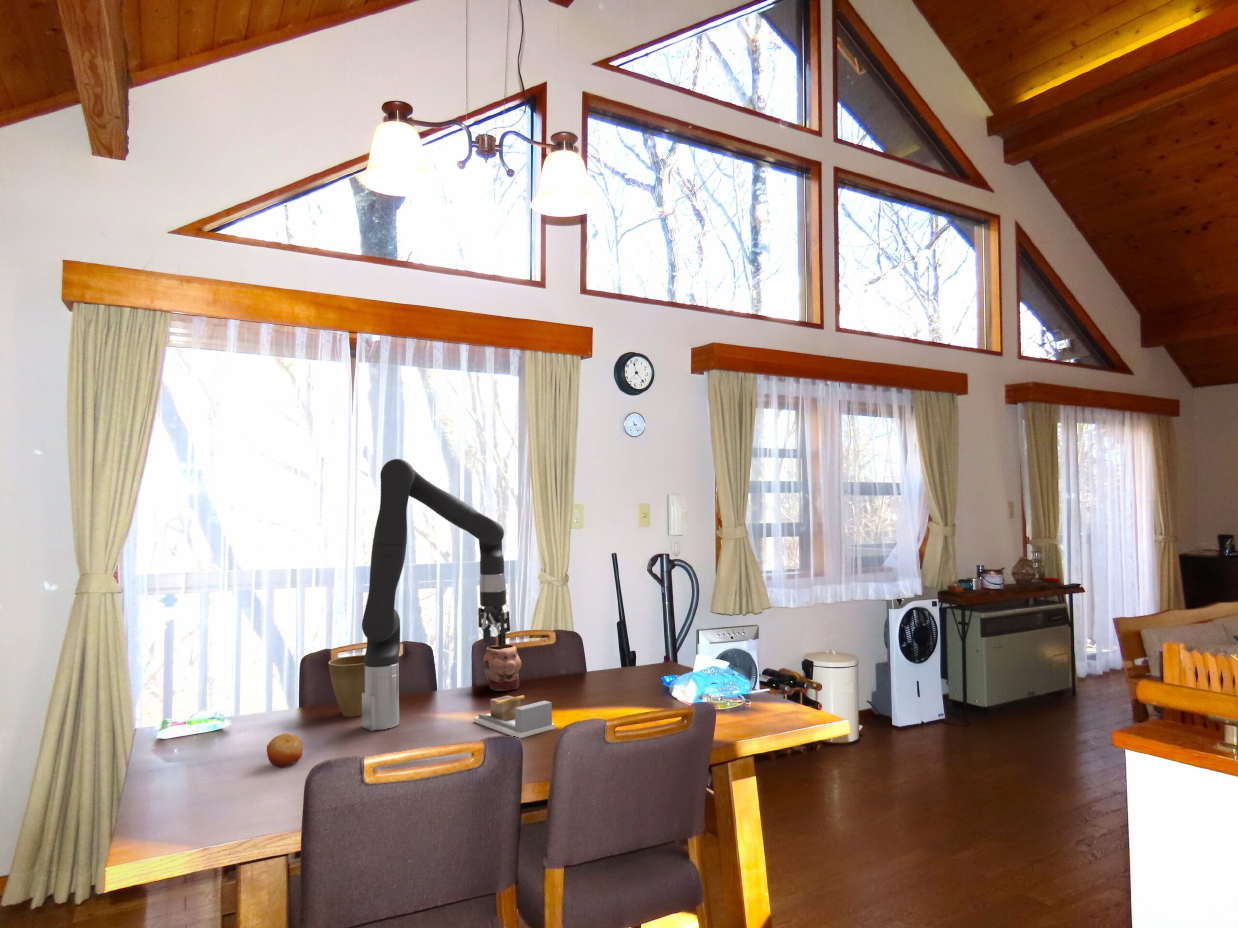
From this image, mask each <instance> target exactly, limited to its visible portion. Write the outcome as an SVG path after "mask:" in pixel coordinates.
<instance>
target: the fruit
mask: <svg viewBox="0 0 1238 928" xmlns="http://www.w3.org/2000/svg"><path fill="white" fill-rule="evenodd" d="M303 748H304V747H303V741H302V740H301V739H300V738H299V736H297V735H293V734H291V733H281V734H279V735H277V736H275V737H274V738H272V739H271V740H270V741H269V742H268V744H267V745H266V754H267V759H268V761H269V762H270V763H269V764H270V765H273V766H274V767H277V768H278V769H281V768H285V767H288V766H291V765H294V764H296V763H297V762H299V761H300V759H302V756H303V751H304V750H303Z"/></svg>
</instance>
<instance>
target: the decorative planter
mask: <svg viewBox="0 0 1238 928" xmlns="http://www.w3.org/2000/svg"><path fill="white" fill-rule="evenodd" d="M482 667H483V671H484V673H485V676H486V679H487V682H488V684H489V686H488V687H489V688H490V689H491V690H492V691H496V692H497V691H499V692H500V691H503V692H504V691H511V690H516V689H518V688H519V685H520V677H519V671H520V669H521V668H522V659H520V656H519V654H518V649H517V647H516V646H515V645H513V644H506V646H505V647H498V644H497V645H491V646H487V648H486V651H485V654H484V656H483V658H482Z"/></svg>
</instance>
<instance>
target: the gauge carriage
mask: <svg viewBox="0 0 1238 928" xmlns="http://www.w3.org/2000/svg"><path fill="white" fill-rule="evenodd" d="M522 699H525V695H519V696H518V695H517V696H512V695H503V696H500V697H496V698H491V699H490V705H489V706H490V714H491V716H492V717H495V718H497V719H500V720H503V721H507V720H511V719H515V708H516V707H520V706H521V700H522Z"/></svg>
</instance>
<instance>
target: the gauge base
mask: <svg viewBox="0 0 1238 928" xmlns="http://www.w3.org/2000/svg"><path fill="white" fill-rule="evenodd" d="M552 703H553V702H551V701H547V700H541V701H538V702H534V703H530V704H526V705H522V706H521V705H520V707H516V708H515V719H511V720H507V721H503V720H500V719H497V718H495V717H492V716H491V713H487V714H485V713H483V712H481V713H478V716H475V717H473V722H474V723H476V724H479V725H482V726H484V727H487V728H490V729H492V730H495V731H497V732H500V733H503V734H505V735H509V736H510V737H513V736H516V737H519V738H518V739H523V738H527V737H529V736H533V735H537V734H540V733H543V732H544V733H545V732H548V731H552V730H555V729H556V724H555V723H553V713H552V711H553V709H552ZM516 737H515V738H516Z"/></svg>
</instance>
